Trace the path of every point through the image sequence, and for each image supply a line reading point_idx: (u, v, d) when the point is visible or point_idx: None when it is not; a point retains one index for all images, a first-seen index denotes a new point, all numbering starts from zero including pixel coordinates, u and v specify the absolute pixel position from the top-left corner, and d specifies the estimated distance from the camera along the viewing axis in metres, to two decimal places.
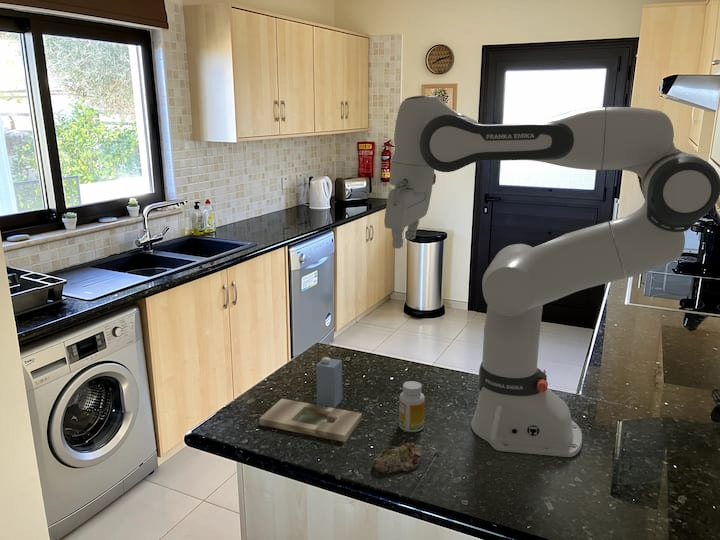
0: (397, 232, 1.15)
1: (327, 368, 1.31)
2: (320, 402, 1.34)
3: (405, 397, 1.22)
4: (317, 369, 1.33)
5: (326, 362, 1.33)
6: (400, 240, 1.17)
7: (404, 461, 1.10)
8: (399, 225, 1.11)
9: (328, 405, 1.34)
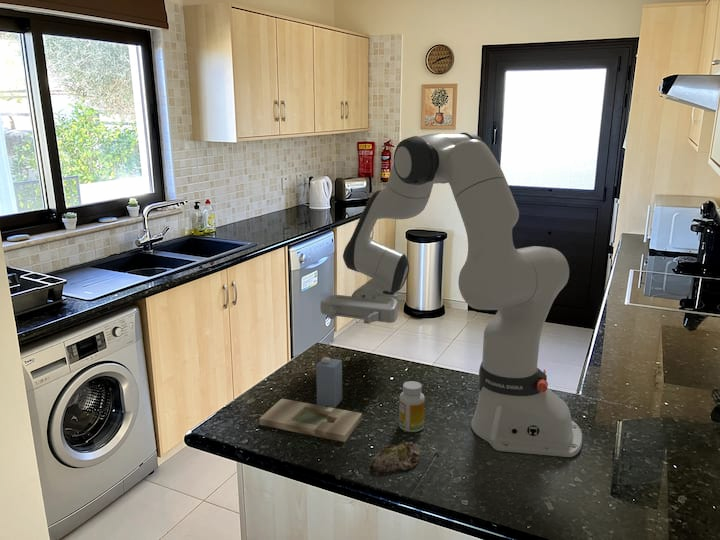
0: None
1: (327, 368, 1.31)
2: (320, 402, 1.34)
3: (405, 397, 1.22)
4: (317, 369, 1.33)
5: (326, 362, 1.33)
6: None
7: (402, 460, 1.11)
8: (321, 301, 1.51)
9: (328, 405, 1.34)
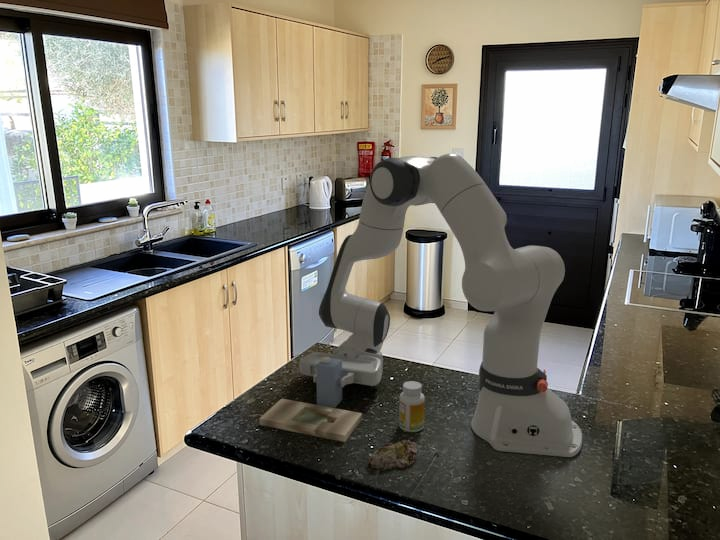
0: None
1: (327, 368, 1.31)
2: (320, 402, 1.34)
3: (405, 397, 1.22)
4: (317, 369, 1.33)
5: (326, 362, 1.33)
6: None
7: (400, 458, 1.11)
8: (300, 360, 1.42)
9: (328, 405, 1.34)
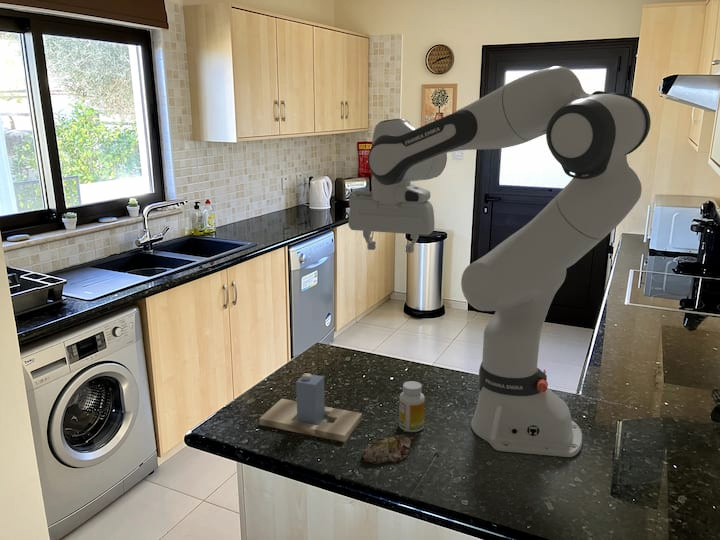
0: None
1: (308, 385, 1.22)
2: (301, 421, 1.25)
3: (405, 397, 1.22)
4: (297, 386, 1.23)
5: (307, 379, 1.24)
6: (367, 242, 1.38)
7: (392, 452, 1.13)
8: None
9: None
